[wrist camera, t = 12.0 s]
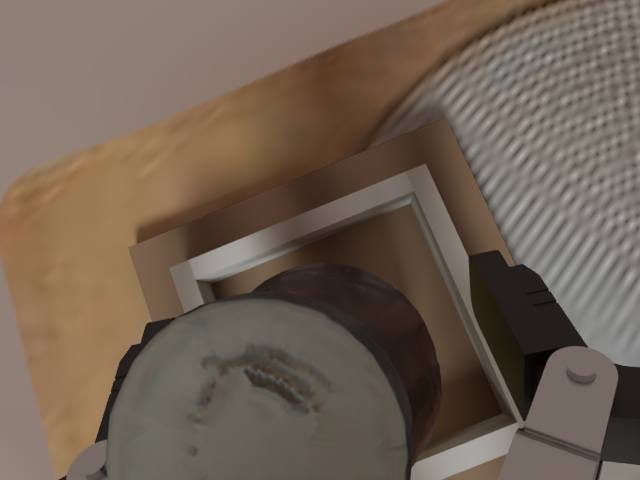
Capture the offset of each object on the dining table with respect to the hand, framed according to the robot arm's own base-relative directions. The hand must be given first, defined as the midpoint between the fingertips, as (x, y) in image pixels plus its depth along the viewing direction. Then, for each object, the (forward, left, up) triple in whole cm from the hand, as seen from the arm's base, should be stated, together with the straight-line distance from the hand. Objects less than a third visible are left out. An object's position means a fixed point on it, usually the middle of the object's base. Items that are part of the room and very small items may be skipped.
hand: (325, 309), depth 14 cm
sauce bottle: (0, +2, -12) cm, 12 cm away
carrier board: (0, +1, -13) cm, 13 cm away
